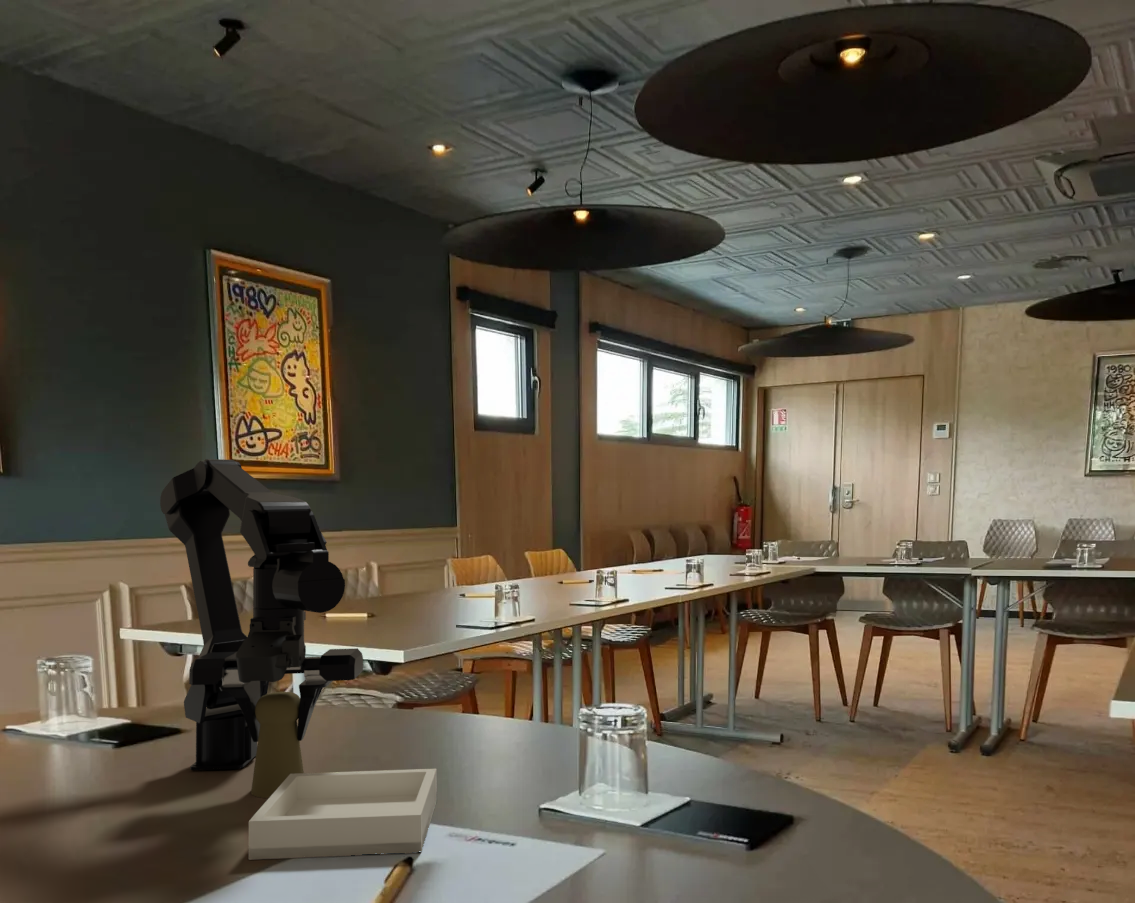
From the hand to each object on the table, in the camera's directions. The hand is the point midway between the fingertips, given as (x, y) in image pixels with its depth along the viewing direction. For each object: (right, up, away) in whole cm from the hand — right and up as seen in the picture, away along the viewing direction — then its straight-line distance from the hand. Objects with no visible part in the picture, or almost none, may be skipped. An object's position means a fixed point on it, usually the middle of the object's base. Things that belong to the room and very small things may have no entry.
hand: (278, 740), depth 99 cm
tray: (+12, -5, -13) cm, 18 cm away
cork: (0, -6, 0) cm, 6 cm away
